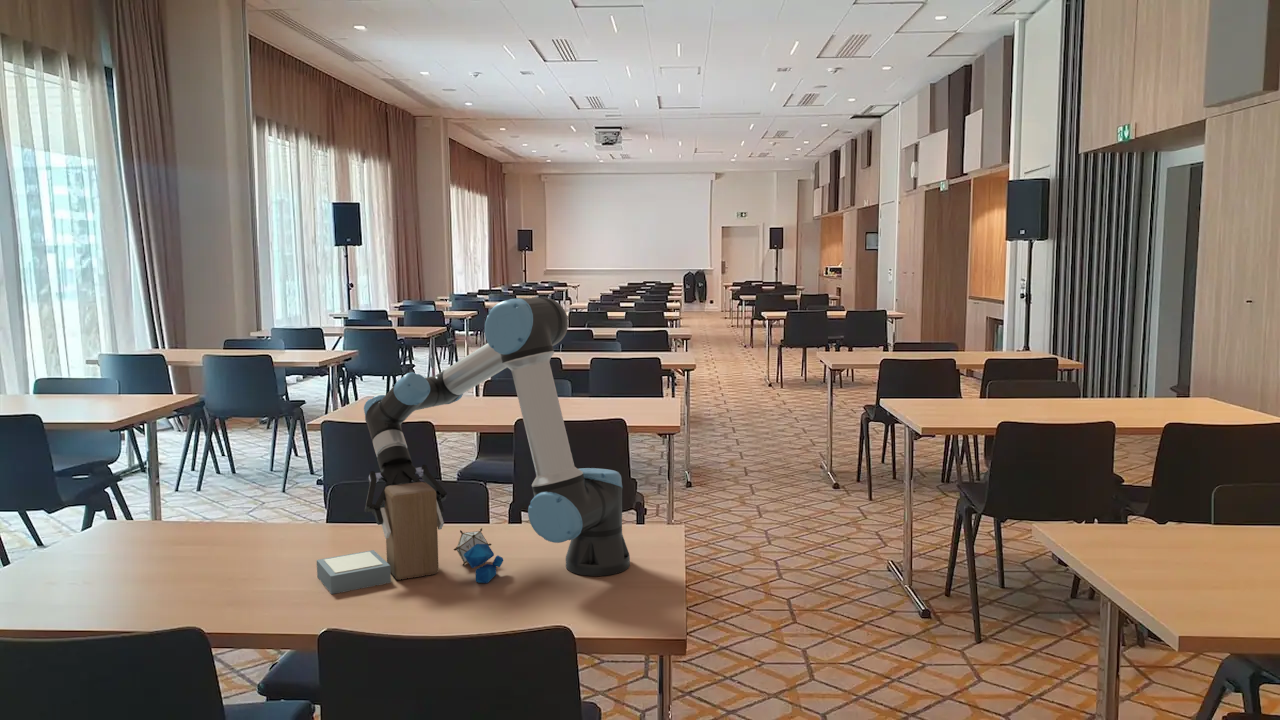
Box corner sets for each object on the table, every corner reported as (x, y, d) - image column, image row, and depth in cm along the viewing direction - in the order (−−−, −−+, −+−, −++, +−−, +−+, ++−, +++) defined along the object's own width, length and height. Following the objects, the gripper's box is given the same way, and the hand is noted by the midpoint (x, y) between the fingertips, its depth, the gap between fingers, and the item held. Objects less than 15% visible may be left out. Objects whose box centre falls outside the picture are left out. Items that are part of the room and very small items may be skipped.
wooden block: (395, 581, 203) (392, 494, 201) (386, 568, 212) (383, 485, 209) (439, 574, 207) (437, 489, 205) (428, 562, 216) (426, 480, 214)
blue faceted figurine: (510, 542, 209) (490, 546, 197) (507, 580, 208) (487, 586, 196) (480, 540, 211) (458, 544, 199) (477, 578, 210) (456, 584, 198)
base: (390, 582, 202) (390, 564, 202) (331, 594, 195) (330, 575, 195) (374, 566, 213) (373, 549, 213) (317, 576, 206) (316, 559, 206)
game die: (477, 580, 214) (480, 555, 208) (446, 566, 215) (448, 540, 209) (495, 552, 221) (498, 527, 214) (464, 538, 222) (467, 513, 215)
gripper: (436, 456, 226) (461, 530, 215) (339, 468, 214) (359, 548, 202) (443, 438, 221) (468, 514, 210) (343, 449, 208) (365, 530, 197)
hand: (415, 531), depth 206 cm, fingers open, 12 cm apart
